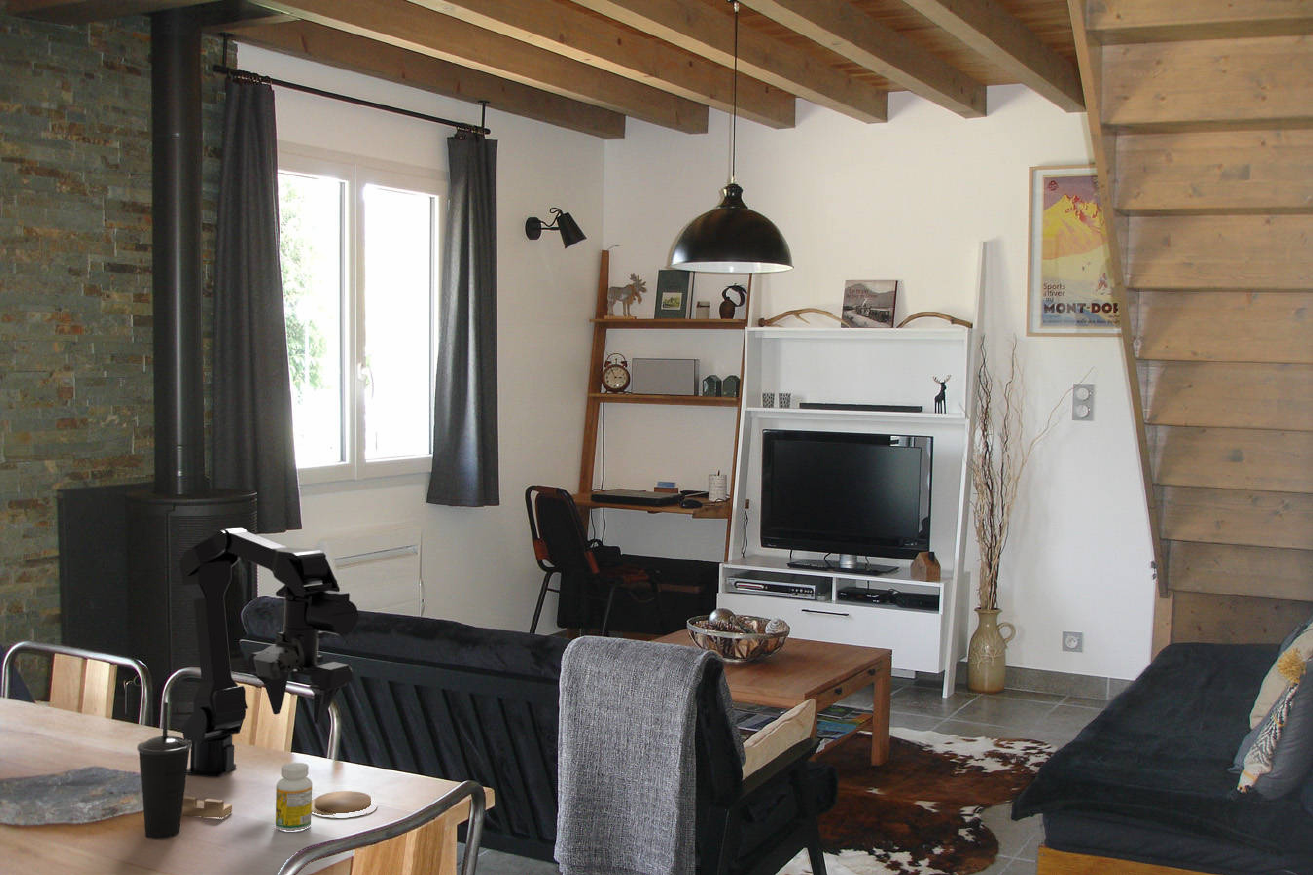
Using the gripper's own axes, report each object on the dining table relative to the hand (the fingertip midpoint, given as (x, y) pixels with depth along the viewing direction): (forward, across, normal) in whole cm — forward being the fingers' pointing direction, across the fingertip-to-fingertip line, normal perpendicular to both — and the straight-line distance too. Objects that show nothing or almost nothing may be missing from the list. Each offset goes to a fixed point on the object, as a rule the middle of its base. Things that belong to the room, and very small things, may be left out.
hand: (297, 718), depth 207 cm
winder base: (+13, +10, +1) cm, 17 cm away
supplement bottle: (+13, +11, -11) cm, 20 cm away
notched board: (+13, -5, -14) cm, 20 cm away
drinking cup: (+13, -3, -24) cm, 28 cm away
